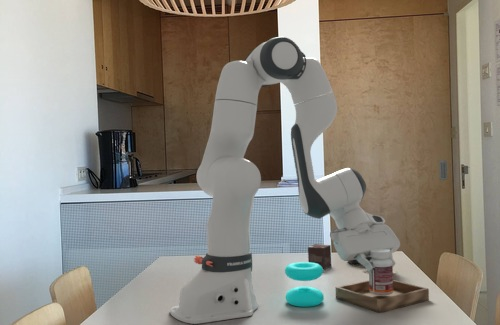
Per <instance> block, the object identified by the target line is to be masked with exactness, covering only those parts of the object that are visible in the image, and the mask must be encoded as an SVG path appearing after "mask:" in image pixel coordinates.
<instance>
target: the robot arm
mask: <svg viewBox="0 0 500 325" xmlns="http://www.w3.org/2000/svg"><path fill="white" fill-rule="evenodd" d="M220 72H221V73H220V75H219V78H218V79H219V80H218V83H217V87H216V93H215V96H214V105H213V112H212V113H213V115H212V118H211V126H210V133H209V136H208V140H207V143H206V147H205V150H204V152H203V153H204V154H203V156H202V161H201V162H200V165H199V167H198V169H197V172H196V182H197V185H198V186H199V188H200V189H201V190H202V192H204V193H205V194H206V195H207V196H209V197H212V203H211V209H210V215H209V217H208V220H207V222H206V243H207V244H206V245H207V246H206V247H207V253H206V254H205V255H204V256H200V255H195V257H193V261H194V263H195V264H198V265H201V269H200V270H199V271H198V272H197V273H196V274H195V275H194V276H193V277H192V278H191V279H189V281H187V282H186V283H185V284H184V285H182V287H181V290H180V293H179V299H178V300H179V301H178V304H177V305H174V306H171V307H170V312H169V313H170V315H171V316H172V317H173V318H175V319H177V320H178V321H180V322H183V323H187V324H192V325H193V324H194V325H197V324H204V323H211V322H218V321H224V320H230V319H238V318H247V317H250V316H252V315H253V314H254V311H256V310H257V309H258V308H259V304H258V301H257V298H256V294H255V289H254V283H253V274H252V272H253V253H252V250H251V227H250V226H251V225H250V224H251V216H252V211H253V204H254V200H255V196H256V194H257V193H258V191H259V189H260V187H261V184H262V176H261V173H260V170H259V168H258V167H257V165H256V164H255V163H254V162H252V161H250V160H248V159H246V158H244V157H245V155H246V151H247V148H248V146H249V144H250V142H251V141H252V140H253V137H254V133H255V125H256V119H257V117H256V116H257V109H258V101H259V100H258V99H259V97H258V96H259V93H260V90H261V89H262V88H264V87H269V86H271V85H276V84H279V83H281V84H282V85H284V86H285V87H286V89H287V90H288V92H289V94H290V96H291V99H292V102H293V105H294V108H295V122H294V124H293V125H292V127H291V129H290V130H291V131H290V139H291V140H290V141H291V142H290V143H291V148H292V154H293V160H294V168H295V171H296V180H297V185H298V198H299V205H300V207H301V209H302V211H303V212H304V214H305V215H307V216H309V217H311V218H315V219H318V220H319V219H322V218H323V217H325V216H328V215H329V216H330V217H331V218H332V219H333V220H334V222H335V226H336V227H337V229H336V228H335V229H332V230H331V231H330V232H329V237H330V239H331V241H332V243H333V246H334V249H335V250H336V253H337V255H338V257H339V258H340V259H341V260H342V261H343V262H348V261H349V260H355V259H357V261H358V262H359V263H360V264H362V265H361V266H363V267H365V270H367V271H373V270H374V269H375V265H374V264H373V262H369V261H368V260H367V259H366V257H370V250H375V249H388V250H390V258H389V259H390V260H391V261H392V264H393V267H395V265H396V261H395V260H394V259H393V253H396V252H397V251H398V250H399V248H400V247H401V241H400V239H399V238H398V237H397V235H396V234H395V232H394V231H393V229H392V228H391V227H390V226H389V225H387V224H385V223H386V220H385V218H384V217H383V216H382V215H381V216H380V215H377V214H376V215H375V214H371V213H368V212H366V211H365V210H364V209H363V208H362V207H361V206H360V203H361V202H362V201H363V199H364V196H365V195H366V191H367V183H366V181H365V180H364V178H363V177H362V175H361V173H360V172H358V171H357V170H356V169H354V168H351V167H346V168H345V167H344V168H343V169H342V168H341V169H340V170H337V171H335V172H333V173H331V174H328V175H325V176H324V177H320V178H317V179H315V173H314V168H313V167H314V166H313V162H312V156H311V150H312V146H313V144H314V142H315V141H316V140H317V139H318V137H320V135H322V134H323V133H324V132H325V131H326V130H327V129H329V127H331V126H332V123H333V122H334V121H335V119H336V117H337V113H338V104H337V99H336V97H335V93H334V90H333V88H332V85H331V83H330V80H329V78H328V76H327V72H325V70H324V68H323V66H322V64H321V63H320V60H318V59H316V58H315V57H310V56H309V57H307V56H306V54H305V53H304V52H303V51H302V50H301V49H300V47H299V46H298V45H297V43H296V42H295V41H293V40H292V39H291V38H289V37H284V36H277V37H272V38H270V39H269V40H267V41H265V42H262V43H261V44H259V45H258V46H257V47H255V48H254V50H252V51H250V52H249V53H248V55H247V56H246V58H245V59H244V60H234V61H230V62H227V63H226V64H225V65H224V66H223V67H222V69H221V71H220Z"/></svg>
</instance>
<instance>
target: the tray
mask: <svg viewBox="0 0 500 325" xmlns="http://www.w3.org/2000/svg"><path fill="white" fill-rule="evenodd" d="M429 294H430V291H429V288H427V287H423V286H419V285H415V284H411V283H407V282H403V281H400V280H395V279H393V293H392V294H389V295H376V294H372V293H371V292H370V290H369V279H368V280H364V281H359V282H355V283H350V284H345V285H340V286H336V287H335V299H337V300H340V301H343V302H346V303H349V304H352V305H355V306H358V307H361V308H364V309H366V310H370V311H373V312H376V313H379V314H380V313H381V314H382V313H385V312H388V311H392V310H397V309H401V308H403V307H408V306H411V305H416V304H419V303H423V302H426V301H427V302H429V300H430V296H429Z"/></svg>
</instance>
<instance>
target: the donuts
mask: <svg viewBox="0 0 500 325" xmlns="http://www.w3.org/2000/svg"><path fill="white" fill-rule="evenodd" d="M284 273H285V275H286V276H287V277H288V278H289V279H291V280H292V281H293V280H294V281H298V282H310V281H314V280H315V281H316V280H318V279H319V278H320V277H321V276H323V273H324V269H323V268H322V266H321V265H319V264H317V263H312V262H308V261H300V262H299V261H298V262H291V263H289V264H288V265H286V267H285V268H284ZM324 297H325V296H324V293H323V292H322V291H321V290H320V289H318V288H316V287H312V286H296V287H292V288H291V289H289V290H288V291H287V292H286V295H285V300H286V302H287V304H289V305H291V306H296V307H300V308H308V307H309V308H311V307H316V306H319V305H320V304H322V303H323V301H324Z"/></svg>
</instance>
